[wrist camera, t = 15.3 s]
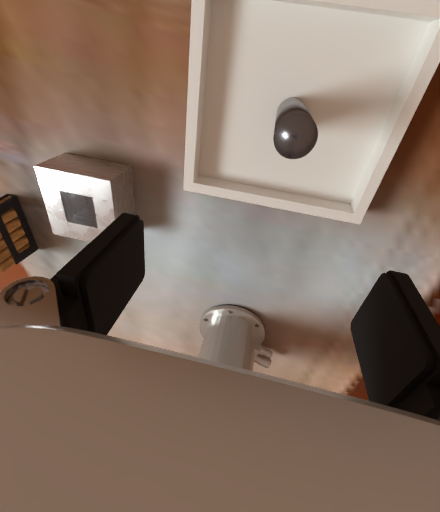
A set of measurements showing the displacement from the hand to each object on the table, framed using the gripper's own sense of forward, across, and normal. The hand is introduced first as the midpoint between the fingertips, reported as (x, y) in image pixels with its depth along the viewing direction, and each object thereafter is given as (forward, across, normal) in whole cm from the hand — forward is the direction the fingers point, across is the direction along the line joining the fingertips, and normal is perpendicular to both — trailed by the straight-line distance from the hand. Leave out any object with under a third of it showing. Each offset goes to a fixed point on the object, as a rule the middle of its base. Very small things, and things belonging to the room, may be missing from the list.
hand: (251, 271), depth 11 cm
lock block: (+27, +23, +12) cm, 37 cm away
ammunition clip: (+27, +39, +21) cm, 52 cm away
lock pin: (+26, -2, -3) cm, 26 cm away
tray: (+26, -2, -3) cm, 27 cm away
